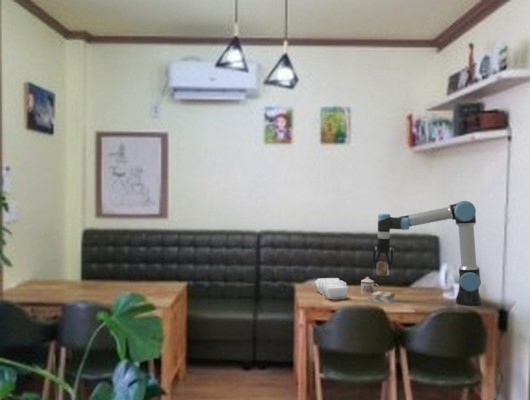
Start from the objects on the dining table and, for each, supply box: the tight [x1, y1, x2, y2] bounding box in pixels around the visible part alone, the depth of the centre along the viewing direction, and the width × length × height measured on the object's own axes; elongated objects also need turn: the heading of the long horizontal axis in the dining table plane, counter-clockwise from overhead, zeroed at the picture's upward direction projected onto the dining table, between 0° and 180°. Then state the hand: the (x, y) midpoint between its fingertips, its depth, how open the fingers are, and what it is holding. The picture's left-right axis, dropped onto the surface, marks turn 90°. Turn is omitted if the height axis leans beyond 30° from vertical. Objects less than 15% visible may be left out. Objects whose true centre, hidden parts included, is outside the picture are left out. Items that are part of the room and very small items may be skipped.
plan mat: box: [364, 297, 400, 304], centre depth 351 cm, size 18×16×1 cm
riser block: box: [369, 290, 396, 304], centre depth 351 cm, size 12×12×4 cm
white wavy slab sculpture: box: [314, 277, 349, 300], centre depth 363 cm, size 35×16×11 cm, turn 7°
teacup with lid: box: [360, 276, 380, 296], centre depth 371 cm, size 12×9×12 cm
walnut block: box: [376, 260, 388, 277], centre depth 351 cm, size 6×6×8 cm
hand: (382, 274), depth 351 cm, fingers closed on walnut block, 6 cm apart
